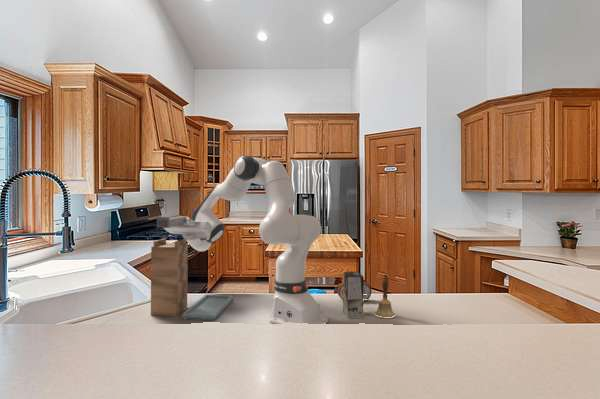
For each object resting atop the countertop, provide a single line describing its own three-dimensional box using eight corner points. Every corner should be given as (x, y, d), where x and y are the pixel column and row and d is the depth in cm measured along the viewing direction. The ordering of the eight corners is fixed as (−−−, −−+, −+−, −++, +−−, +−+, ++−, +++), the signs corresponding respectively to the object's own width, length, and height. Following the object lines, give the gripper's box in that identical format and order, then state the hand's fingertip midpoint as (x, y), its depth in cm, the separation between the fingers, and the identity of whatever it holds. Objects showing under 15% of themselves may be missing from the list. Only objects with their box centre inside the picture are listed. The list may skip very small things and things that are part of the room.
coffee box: (363, 318, 129) (364, 276, 129) (347, 318, 129) (347, 276, 129) (357, 310, 139) (358, 271, 138) (342, 310, 138) (343, 271, 138)
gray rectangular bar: (180, 223, 147) (180, 213, 147) (190, 223, 147) (190, 214, 147) (157, 227, 127) (157, 216, 127) (168, 227, 127) (168, 217, 127)
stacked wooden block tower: (163, 306, 139) (164, 238, 139) (187, 307, 138) (187, 238, 138) (150, 315, 129) (151, 241, 129) (176, 316, 128) (176, 242, 128)
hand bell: (369, 313, 136) (370, 273, 136) (386, 310, 139) (387, 271, 139) (382, 320, 128) (383, 278, 128) (400, 317, 132) (401, 276, 131)
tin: (370, 299, 153) (370, 281, 153) (371, 301, 150) (372, 282, 150) (337, 299, 153) (337, 280, 152) (338, 301, 150) (338, 282, 149)
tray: (205, 298, 150) (205, 294, 150) (232, 300, 149) (232, 295, 149) (182, 318, 126) (182, 313, 126) (213, 320, 125) (214, 315, 125)
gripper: (172, 225, 157) (159, 212, 145) (215, 226, 155) (205, 213, 143) (168, 238, 154) (155, 225, 142) (212, 239, 152) (202, 226, 140)
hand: (181, 219), depth 143 cm, fingers closed on gray rectangular bar, 3 cm apart
